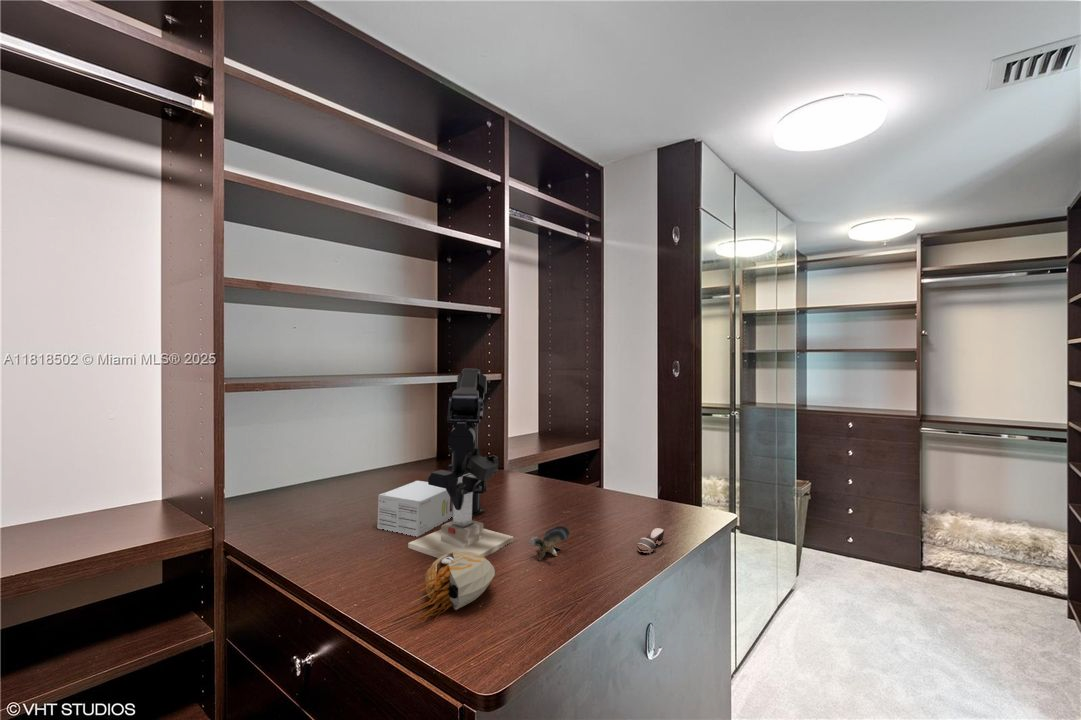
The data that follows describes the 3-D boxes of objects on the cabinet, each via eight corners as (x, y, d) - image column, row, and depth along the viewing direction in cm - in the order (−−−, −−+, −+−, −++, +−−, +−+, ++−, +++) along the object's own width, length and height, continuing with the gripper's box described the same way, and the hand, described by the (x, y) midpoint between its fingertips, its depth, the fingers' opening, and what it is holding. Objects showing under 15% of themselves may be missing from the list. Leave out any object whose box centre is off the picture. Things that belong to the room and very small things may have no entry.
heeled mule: (630, 552, 119) (631, 536, 119) (652, 539, 127) (653, 524, 127) (646, 558, 116) (647, 542, 116) (668, 545, 124) (669, 530, 124)
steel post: (461, 535, 123) (462, 489, 123) (472, 539, 121) (473, 491, 121) (451, 540, 120) (452, 492, 120) (462, 543, 118) (463, 495, 118)
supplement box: (418, 538, 124) (419, 501, 124) (376, 529, 129) (377, 494, 129) (454, 517, 140) (455, 484, 140) (415, 510, 145) (416, 479, 145)
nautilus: (432, 645, 80) (374, 619, 89) (513, 587, 98) (459, 570, 107) (429, 598, 80) (371, 576, 89) (511, 548, 98) (456, 534, 106)
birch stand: (458, 526, 133) (459, 507, 133) (513, 541, 123) (513, 520, 123) (408, 547, 118) (408, 526, 117) (465, 567, 108) (466, 543, 108)
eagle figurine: (562, 561, 110) (576, 540, 118) (545, 533, 110) (560, 514, 118) (537, 571, 113) (553, 550, 121) (521, 545, 114) (537, 525, 122)
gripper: (463, 455, 108) (462, 525, 108) (513, 442, 123) (511, 504, 124) (427, 448, 114) (425, 515, 114) (478, 437, 129) (477, 496, 130)
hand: (462, 507), depth 120 cm, fingers closed on steel post, 3 cm apart
